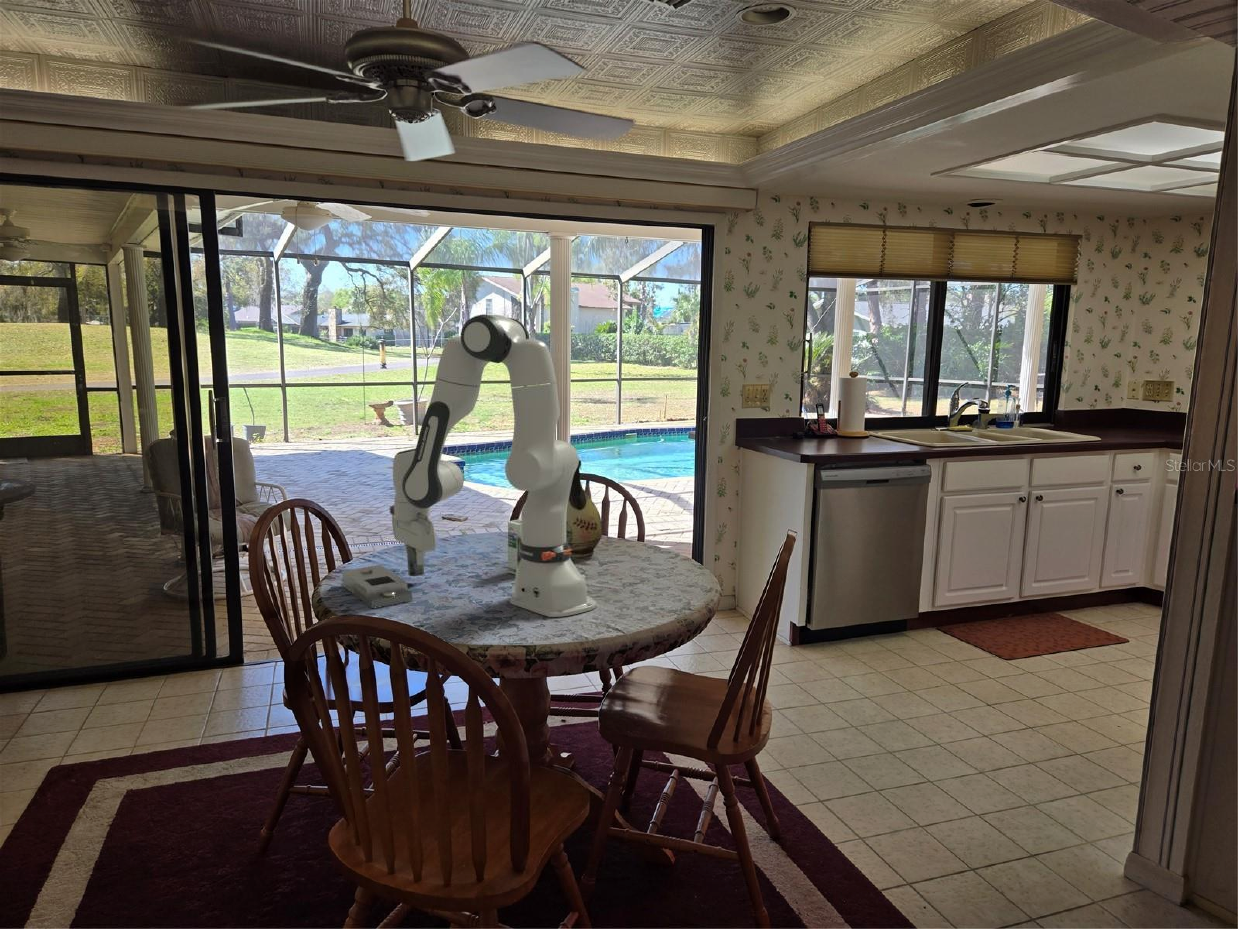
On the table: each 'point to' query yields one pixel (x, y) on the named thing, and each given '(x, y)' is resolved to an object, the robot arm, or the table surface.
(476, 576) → the table surface
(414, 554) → the pin
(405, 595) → the inner link end
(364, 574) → the outer link end
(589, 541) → the ceramic jug
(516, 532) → the syrup box
